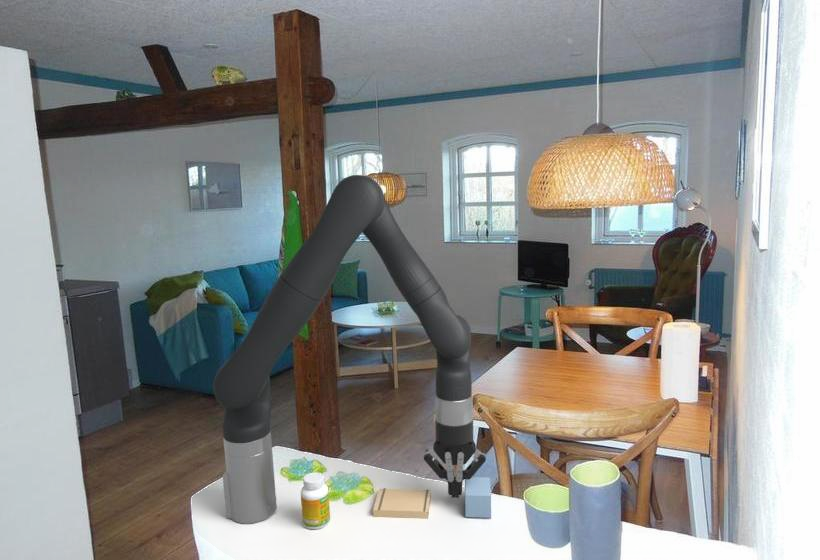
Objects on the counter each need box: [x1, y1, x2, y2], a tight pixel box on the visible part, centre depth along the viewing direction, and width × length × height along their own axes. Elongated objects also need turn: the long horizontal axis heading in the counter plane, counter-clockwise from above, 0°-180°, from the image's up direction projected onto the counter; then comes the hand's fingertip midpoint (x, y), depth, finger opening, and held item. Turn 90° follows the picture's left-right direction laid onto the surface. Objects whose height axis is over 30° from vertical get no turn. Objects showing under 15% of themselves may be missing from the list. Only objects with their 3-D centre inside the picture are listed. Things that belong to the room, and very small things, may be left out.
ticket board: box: [372, 487, 432, 519], centre depth 122 cm, size 11×8×2 cm
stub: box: [464, 476, 492, 519], centre depth 120 cm, size 5×7×5 cm
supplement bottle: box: [300, 471, 331, 530], centre depth 117 cm, size 5×5×10 cm
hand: (455, 496), depth 121 cm, fingers closed
